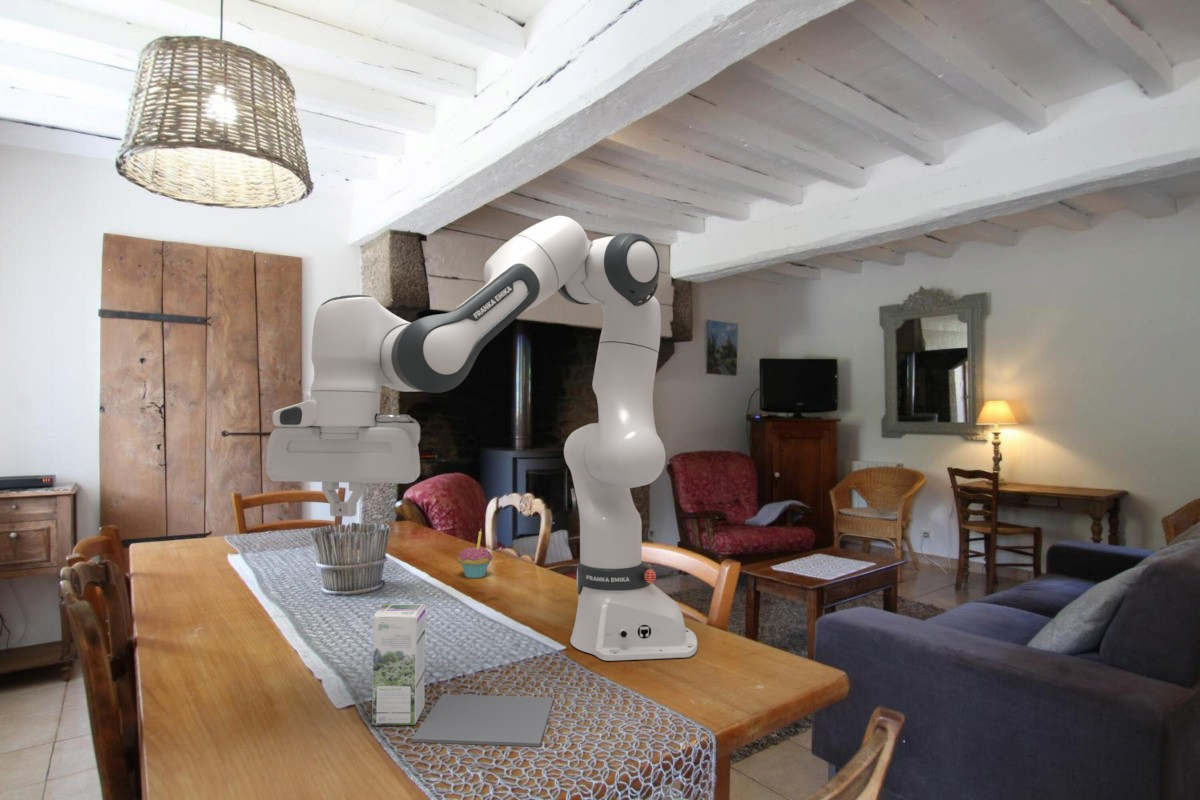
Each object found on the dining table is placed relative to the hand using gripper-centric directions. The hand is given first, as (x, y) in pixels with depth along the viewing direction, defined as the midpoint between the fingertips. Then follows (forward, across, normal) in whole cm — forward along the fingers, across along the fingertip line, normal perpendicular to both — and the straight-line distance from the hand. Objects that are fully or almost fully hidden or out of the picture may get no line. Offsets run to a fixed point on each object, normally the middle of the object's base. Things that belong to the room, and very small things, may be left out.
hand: (343, 515), depth 89 cm
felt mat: (+27, -20, 0) cm, 33 cm away
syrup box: (+27, -8, 0) cm, 28 cm away
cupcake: (+27, +1, -76) cm, 81 cm away
